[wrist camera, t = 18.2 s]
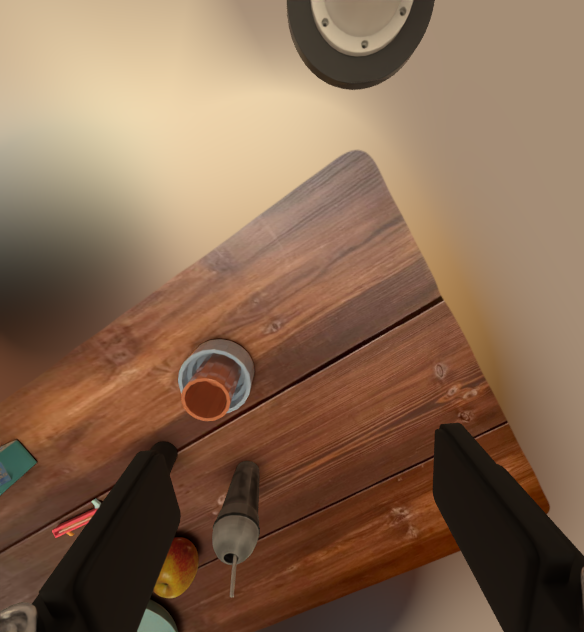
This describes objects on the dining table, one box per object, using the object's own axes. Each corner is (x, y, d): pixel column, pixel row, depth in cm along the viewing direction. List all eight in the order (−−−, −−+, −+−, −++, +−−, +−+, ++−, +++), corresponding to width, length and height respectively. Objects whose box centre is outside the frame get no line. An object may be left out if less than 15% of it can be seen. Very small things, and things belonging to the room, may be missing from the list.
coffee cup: (197, 354, 47) (176, 380, 39) (237, 349, 47) (225, 376, 38) (205, 389, 49) (187, 423, 40) (244, 386, 49) (233, 418, 40)
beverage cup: (222, 462, 54) (183, 588, 35) (256, 449, 53) (235, 571, 34) (239, 490, 56) (211, 623, 37) (272, 478, 55) (262, 608, 36)
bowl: (183, 341, 47) (170, 353, 42) (249, 334, 47) (244, 346, 42) (196, 399, 50) (186, 417, 46) (259, 393, 50) (255, 410, 45)
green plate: (138, 571, 63) (130, 589, 59) (204, 631, 68) (200, 651, 65) (59, 609, 66) (48, 628, 63) (128, 663, 72) (120, 683, 69)
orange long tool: (57, 515, 59) (66, 536, 59) (47, 522, 57) (56, 544, 57) (150, 471, 56) (160, 493, 56) (143, 477, 54) (153, 500, 53)
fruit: (158, 527, 59) (138, 571, 51) (201, 528, 59) (188, 572, 51) (163, 560, 62) (144, 607, 54) (204, 561, 62) (191, 608, 54)
